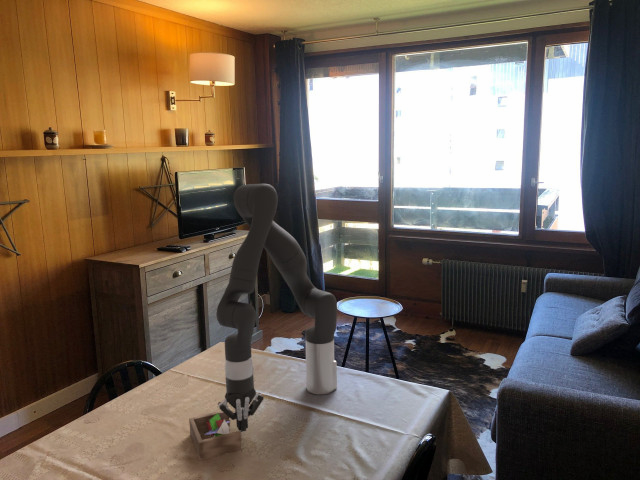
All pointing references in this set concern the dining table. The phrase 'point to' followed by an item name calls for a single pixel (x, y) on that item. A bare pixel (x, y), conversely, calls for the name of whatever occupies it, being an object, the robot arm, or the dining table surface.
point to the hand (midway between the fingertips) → (242, 429)
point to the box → (214, 444)
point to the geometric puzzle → (217, 426)
